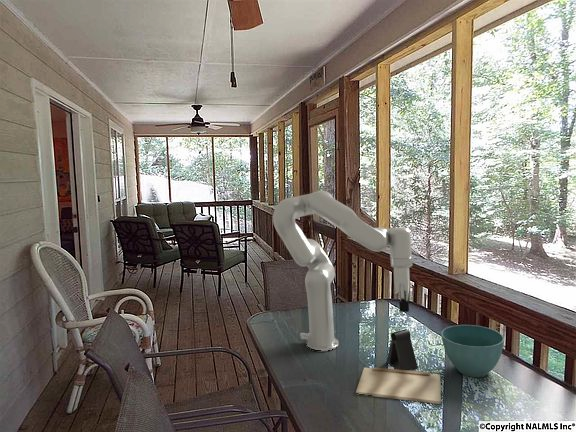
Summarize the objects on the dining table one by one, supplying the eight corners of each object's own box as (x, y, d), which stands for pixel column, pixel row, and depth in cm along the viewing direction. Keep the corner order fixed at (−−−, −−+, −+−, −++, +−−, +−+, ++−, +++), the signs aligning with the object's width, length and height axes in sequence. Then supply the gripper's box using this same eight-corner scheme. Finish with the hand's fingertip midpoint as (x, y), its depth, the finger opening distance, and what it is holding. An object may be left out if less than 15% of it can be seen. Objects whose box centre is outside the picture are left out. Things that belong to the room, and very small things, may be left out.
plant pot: (478, 391, 120) (477, 351, 119) (430, 368, 136) (429, 332, 135) (517, 374, 128) (516, 337, 127) (467, 354, 144) (466, 320, 143)
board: (356, 394, 123) (355, 390, 123) (364, 369, 138) (364, 366, 138) (441, 404, 115) (440, 400, 114) (439, 377, 130) (439, 373, 129)
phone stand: (418, 368, 136) (416, 333, 135) (403, 372, 134) (402, 337, 133) (400, 358, 145) (399, 325, 143) (386, 362, 142) (385, 328, 141)
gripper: (392, 257, 156) (395, 304, 157) (388, 266, 142) (392, 317, 143) (412, 257, 153) (415, 304, 155) (411, 266, 139) (414, 318, 141)
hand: (404, 310), depth 149 cm, fingers closed
